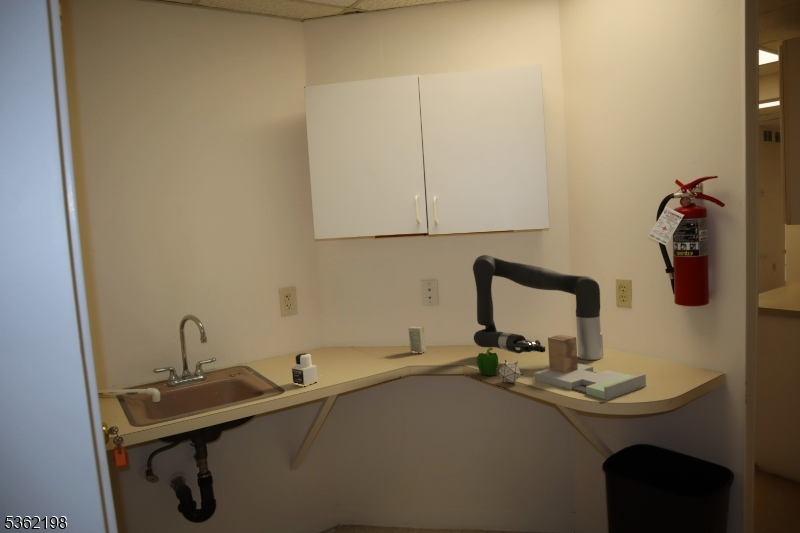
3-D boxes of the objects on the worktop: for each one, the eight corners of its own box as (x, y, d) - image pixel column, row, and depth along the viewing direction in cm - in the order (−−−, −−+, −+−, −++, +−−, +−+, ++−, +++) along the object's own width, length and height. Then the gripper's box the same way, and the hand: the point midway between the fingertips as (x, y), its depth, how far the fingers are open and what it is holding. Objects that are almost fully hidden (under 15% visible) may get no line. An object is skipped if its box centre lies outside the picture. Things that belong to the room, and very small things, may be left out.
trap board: (571, 368, 198) (571, 358, 198) (646, 385, 172) (645, 374, 171) (534, 379, 188) (533, 368, 188) (607, 399, 161) (606, 387, 161)
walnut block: (562, 365, 193) (561, 334, 193) (577, 369, 187) (576, 337, 187) (549, 369, 190) (547, 337, 189) (564, 373, 184) (562, 340, 183)
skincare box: (426, 352, 242) (424, 326, 241) (421, 354, 238) (420, 328, 237) (414, 351, 245) (412, 325, 244) (410, 353, 242) (408, 327, 241)
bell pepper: (483, 378, 194) (481, 352, 193) (474, 373, 202) (472, 348, 201) (503, 375, 196) (502, 349, 195) (494, 369, 204) (492, 345, 203)
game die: (510, 394, 184) (499, 377, 179) (499, 380, 192) (488, 363, 187) (530, 380, 184) (520, 363, 180) (519, 367, 192) (509, 349, 187)
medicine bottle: (293, 385, 204) (290, 355, 203) (307, 380, 210) (304, 351, 209) (304, 387, 200) (301, 357, 199) (318, 382, 205) (315, 353, 204)
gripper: (499, 336, 207) (531, 342, 192) (523, 330, 214) (555, 336, 199) (500, 354, 208) (532, 362, 193) (524, 348, 214) (556, 355, 200)
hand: (544, 349), depth 196 cm, fingers closed
